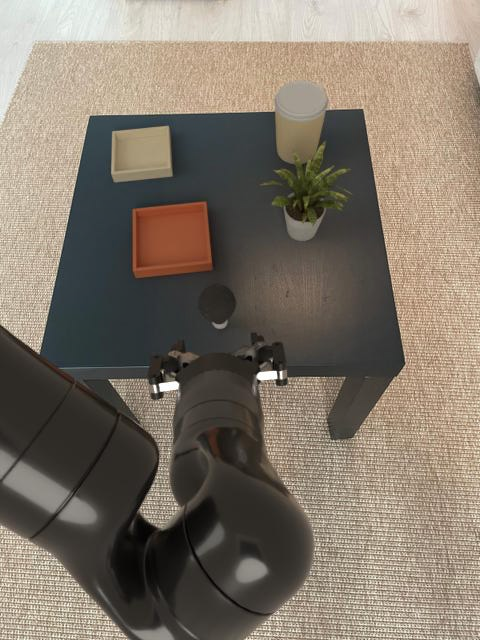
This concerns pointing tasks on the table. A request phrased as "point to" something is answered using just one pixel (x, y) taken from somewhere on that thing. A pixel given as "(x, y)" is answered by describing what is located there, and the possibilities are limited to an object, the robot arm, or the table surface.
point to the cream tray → (141, 154)
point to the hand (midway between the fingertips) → (218, 343)
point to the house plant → (308, 196)
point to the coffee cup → (299, 119)
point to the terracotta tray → (171, 240)
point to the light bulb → (217, 304)
